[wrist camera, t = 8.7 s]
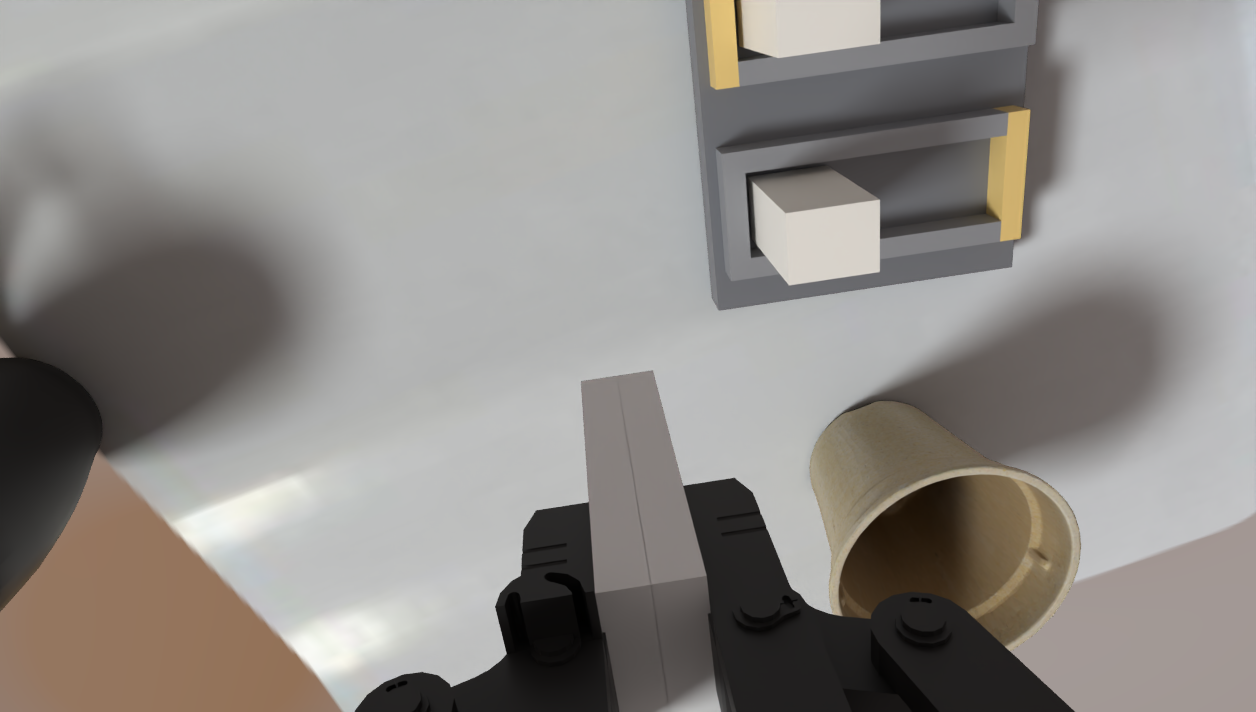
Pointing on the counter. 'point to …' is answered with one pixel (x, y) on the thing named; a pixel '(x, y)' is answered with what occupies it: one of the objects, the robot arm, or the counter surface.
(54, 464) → the mug
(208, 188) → the counter surface
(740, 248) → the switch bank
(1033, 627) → the flower pot
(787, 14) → the tab
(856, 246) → the tab
